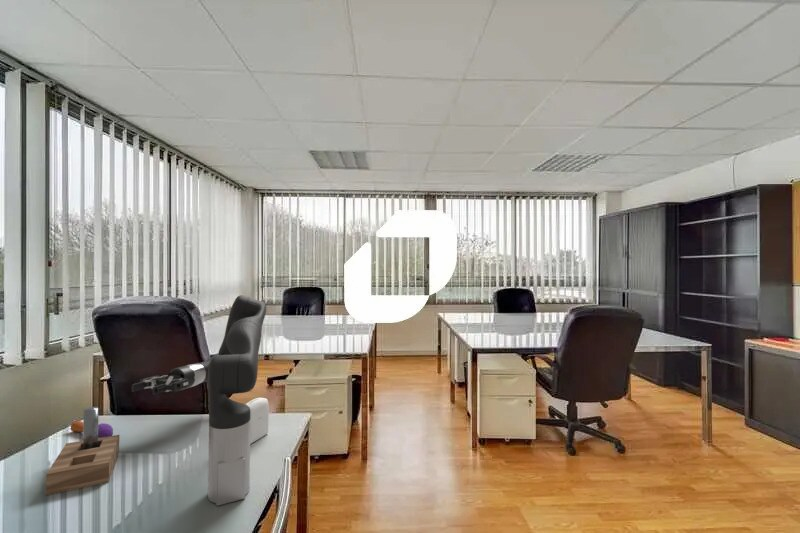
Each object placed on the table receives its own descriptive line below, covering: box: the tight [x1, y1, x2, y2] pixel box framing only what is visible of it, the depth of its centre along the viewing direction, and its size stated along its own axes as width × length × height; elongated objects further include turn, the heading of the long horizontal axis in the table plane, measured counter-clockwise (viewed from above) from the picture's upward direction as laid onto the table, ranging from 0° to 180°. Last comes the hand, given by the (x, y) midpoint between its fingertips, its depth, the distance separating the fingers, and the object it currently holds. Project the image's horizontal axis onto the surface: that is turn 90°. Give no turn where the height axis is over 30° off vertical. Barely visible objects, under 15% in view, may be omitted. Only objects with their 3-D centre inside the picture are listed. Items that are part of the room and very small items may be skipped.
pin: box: [82, 406, 99, 450], centre depth 106 cm, size 3×3×14 cm
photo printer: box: [244, 397, 270, 445], centre depth 123 cm, size 10×4×12 cm, turn 160°
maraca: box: [69, 420, 114, 438], centre depth 122 cm, size 6×6×20 cm
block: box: [45, 434, 120, 496], centre depth 102 cm, size 18×12×5 cm, turn 29°
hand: (142, 389), depth 117 cm, fingers open, 8 cm apart
